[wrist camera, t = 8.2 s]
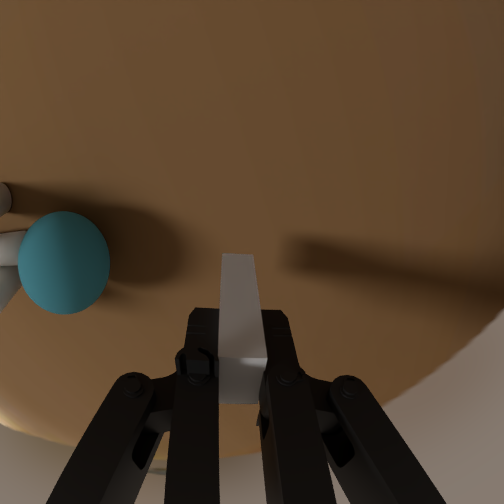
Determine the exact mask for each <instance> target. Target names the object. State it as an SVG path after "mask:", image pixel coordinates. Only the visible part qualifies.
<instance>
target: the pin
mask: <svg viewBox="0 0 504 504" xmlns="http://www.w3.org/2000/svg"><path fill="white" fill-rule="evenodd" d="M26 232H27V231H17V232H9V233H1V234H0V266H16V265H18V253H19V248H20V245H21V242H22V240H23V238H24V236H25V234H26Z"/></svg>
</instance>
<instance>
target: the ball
mask: <svg viewBox="0 0 504 504" xmlns="http://www.w3.org/2000/svg"><path fill="white" fill-rule="evenodd" d="M18 271H19V276H20V280H21V283H22V285H23V287H24V289H25V291H26V293H27V294H28V295H29V297H30V298H31V299H32V300H33V301H34V302H35V303H36V304H37V305H39V306H40V307H41V308H43V309H45V310H47V311H49V312H52V313H56V314H73V313H77V312H80V311H82V310H84V309H86V308H88V307H89V306H90V305H92V304H93V303H94V302H95V301H96V300H97V299H98V297H99V296H100V295H101V293H102V292H103V290H104V288H105V286H106V283H107V280H108V277H109V271H110V256H109V250H108V246H107V243H106V241H105V239H104V237H103V235H102V233H101V232H100V231H99V229H98V228H97V227H96V226H95V225H94V224H93V223H92V222H91V221H90V220H88V219H87V218H85V217H84V216H82V215H79V214H77V213H73V212H68V211H60V212H54V213H50V214H47V215H45V216H43V217H42V218H40V219H38V220H37V221H36V222H35V223H34V224H33V225H32V226H31V227H30V228H29V229H28V231H27V232H26V234H25V236H24V238H23V240H22V242H21V245H20V248H19V253H18Z"/></svg>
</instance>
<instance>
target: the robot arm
mask: <svg viewBox="0 0 504 504" xmlns="http://www.w3.org/2000/svg"><path fill="white" fill-rule="evenodd" d="M175 363H176V370H177V371H176V372H175V373H173V374H171V375H169V376H167V377H163V378H157V379H150V378H149V377H148V376H146V375H144V374H142V373H137V372H131V373H126V374H124V375H122V376H120V377H119V378H118V379H117V380H116V382H115V383H114V385H113V386H112V388H111V390H110V391H109V393H108V394H107V396H106V398H105V399H104V401H103V403H102V404H101V406H100V408H99V409H98V411H97V413H96V414H95V416H94V418H93V419H92V421H91V423H90V424H89V426H88V428H87V430H86V431H85V433H84V435H83V436H82V438H81V440H80V442H79V443H78V445H77V447H76V449H75V450H74V452H73V454H72V456H71V458H70V459H69V461H68V463H67V465H66V467H65V468H64V471H63V472H62V474H61V476H60V478H59V480H58V481H57V483H56V485H55V487H54V489H53V491H52V493H51V495H50V497H49V499H48V501H47V502H46V504H134V502H135V500H136V498H137V495H138V493H139V490H140V488H141V485H142V483H143V481H144V479H145V476H146V474H147V472H148V469H149V467H150V464H151V462H152V460H153V457H154V455H155V453H156V450H157V448H158V446H159V443H160V441H161V439H162V436H163V434H164V432H167V431H170V438H169V448H168V459H167V470H166V484H165V498H164V504H220V493H219V403H227V404H258V400H259V404H260V410H259V414H258V419H257V424H256V426H259V428H260V439H261V450H262V460H263V471H264V481H265V491H266V501H267V504H337V503H336V498H335V494H334V489H333V484H332V480H331V475H330V471H329V467H328V463H329V465H330V467H331V469H332V471H333V472H334V474H335V476H336V478H337V480H338V482H339V484H340V485H341V487H342V489H343V491H344V493H345V495H346V496H347V498H348V500H349V502H350V504H446V502H445V501H444V499H443V498H442V496H441V495H440V493H439V492H438V490H437V489H436V487H435V486H434V484H433V483H432V481H431V480H430V478H429V477H428V475H427V474H426V472H425V471H424V469H423V468H422V466H421V465H420V463H419V462H418V460H417V459H416V457H415V456H414V454H413V453H412V451H411V450H410V449H409V447H408V445H407V444H406V443H405V441H404V440H403V438H402V437H401V435H400V434H399V432H398V431H397V430H396V428H395V427H394V425H393V424H392V422H391V421H390V419H389V418H388V416H387V415H386V414H385V412H384V411H383V409H382V408H381V406H380V405H379V403H378V402H377V400H376V399H375V398H374V396H373V395H372V393H371V392H370V390H369V389H368V388H367V386H366V385H365V384H364V383H363V382H362V381H361V380H360V379H358V378H356V377H355V376H350V375H343V376H339V377H337V378H336V379H334V381H333V382H328V381H323V380H318V379H315V378H312V377H310V376H309V375H307V374H306V373H305V371H304V370H303V369H302V368H300V366H299V363H298V359H297V355H296V350H295V346H294V342H293V338H292V334H291V330H290V326H289V321H288V318H287V317H286V316H285V314H284V313H283V312H282V311H281V310H261V308H260V301H259V294H258V287H257V279H256V272H255V265H254V258H253V255H248V254H229V253H222V268H221V288H220V309H214V308H196V307H195V309H194V310H193V311H192V312H191V314H190V315H189V319H188V326H187V332H186V338H185V344H184V348H182V349H181V350H180V351H179V352H178V353H177V355H176V357H175ZM327 461H328V462H327Z"/></svg>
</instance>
